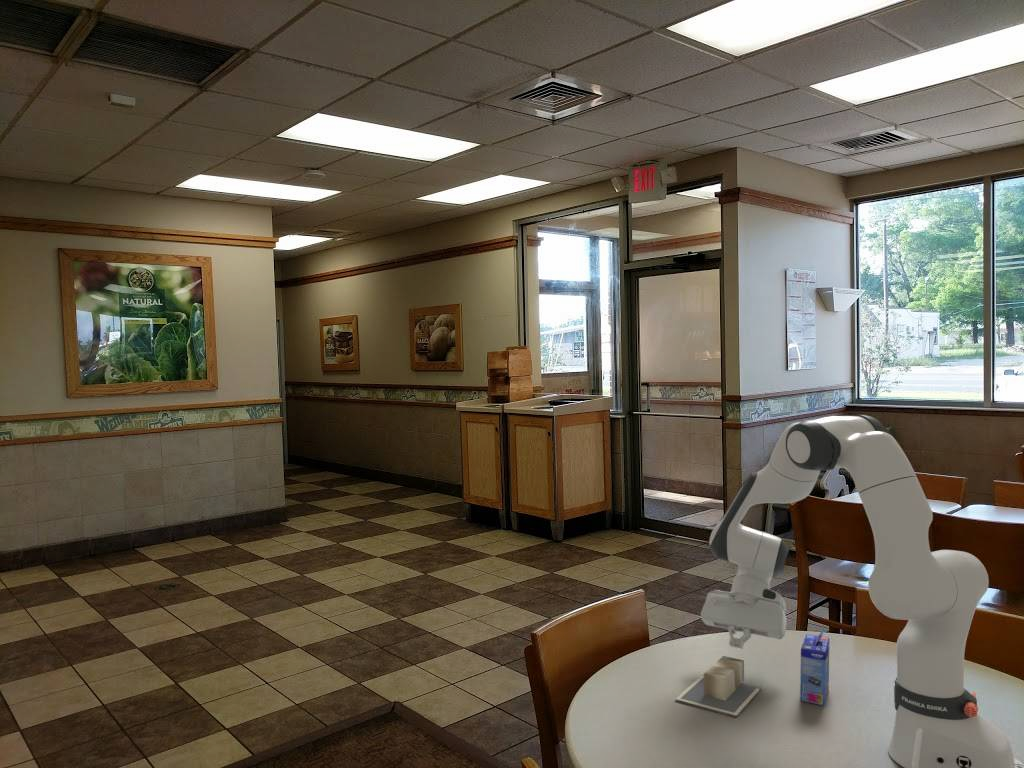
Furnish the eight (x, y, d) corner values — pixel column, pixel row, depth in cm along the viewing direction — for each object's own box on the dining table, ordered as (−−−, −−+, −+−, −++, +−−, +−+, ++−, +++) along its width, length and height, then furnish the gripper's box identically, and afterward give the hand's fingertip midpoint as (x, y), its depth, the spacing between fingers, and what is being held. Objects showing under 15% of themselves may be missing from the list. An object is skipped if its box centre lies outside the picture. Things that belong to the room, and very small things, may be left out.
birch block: (743, 660, 176) (725, 678, 167) (744, 681, 177) (725, 700, 167) (723, 655, 179) (703, 673, 170) (723, 676, 180) (704, 695, 170)
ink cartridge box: (826, 707, 164) (825, 641, 163) (799, 702, 166) (798, 637, 166) (830, 688, 172) (829, 626, 172) (805, 684, 175) (804, 623, 175)
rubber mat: (761, 690, 173) (761, 687, 173) (736, 717, 160) (736, 715, 160) (703, 675, 181) (703, 673, 181) (675, 701, 168) (675, 698, 168)
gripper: (705, 582, 191) (690, 631, 184) (787, 595, 179) (775, 649, 172) (712, 594, 195) (698, 643, 188) (793, 608, 183) (781, 661, 175)
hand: (735, 646), depth 180 cm, fingers closed
